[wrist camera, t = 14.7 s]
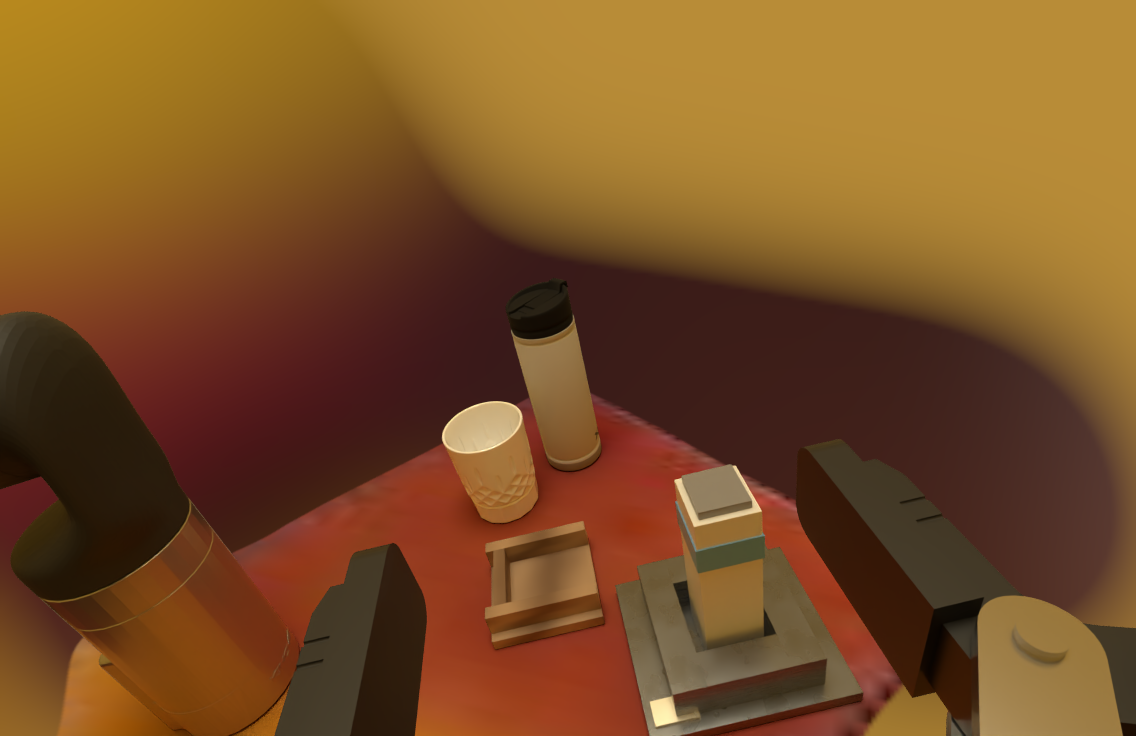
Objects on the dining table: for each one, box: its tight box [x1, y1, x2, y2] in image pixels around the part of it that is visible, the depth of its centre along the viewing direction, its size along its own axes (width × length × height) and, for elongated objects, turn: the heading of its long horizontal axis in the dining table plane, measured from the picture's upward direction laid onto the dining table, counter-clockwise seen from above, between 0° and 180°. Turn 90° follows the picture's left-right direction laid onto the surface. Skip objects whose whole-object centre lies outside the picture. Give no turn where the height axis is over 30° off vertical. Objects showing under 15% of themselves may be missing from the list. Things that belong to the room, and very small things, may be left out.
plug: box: [674, 464, 765, 651], centre depth 37 cm, size 4×4×15 cm
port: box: [615, 546, 863, 736], centre depth 40 cm, size 14×12×4 cm
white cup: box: [442, 401, 538, 523], centre depth 56 cm, size 8×8×10 cm
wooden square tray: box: [485, 521, 605, 649], centre depth 47 cm, size 9×9×3 cm
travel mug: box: [506, 278, 601, 471], centre depth 57 cm, size 6×7×20 cm
